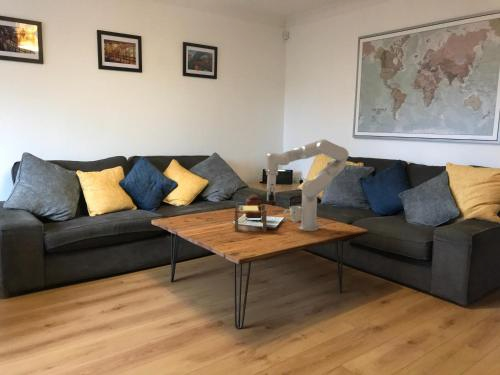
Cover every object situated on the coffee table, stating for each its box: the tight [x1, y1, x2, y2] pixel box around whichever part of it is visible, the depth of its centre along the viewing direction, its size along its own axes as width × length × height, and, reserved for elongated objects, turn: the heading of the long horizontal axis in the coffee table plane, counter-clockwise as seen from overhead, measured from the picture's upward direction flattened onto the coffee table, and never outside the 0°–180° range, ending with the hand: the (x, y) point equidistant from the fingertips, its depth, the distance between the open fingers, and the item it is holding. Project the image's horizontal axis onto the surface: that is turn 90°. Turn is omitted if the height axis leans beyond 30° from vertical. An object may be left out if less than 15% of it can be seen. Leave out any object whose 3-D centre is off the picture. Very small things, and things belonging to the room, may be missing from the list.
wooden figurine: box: [244, 194, 262, 219], centre depth 294 cm, size 12×6×18 cm, turn 81°
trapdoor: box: [239, 204, 259, 211], centre depth 272 cm, size 12×14×2 cm
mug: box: [283, 205, 302, 223], centre depth 292 cm, size 8×13×10 cm, turn 89°
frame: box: [234, 204, 268, 233], centre depth 273 cm, size 20×20×14 cm
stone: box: [266, 191, 276, 202], centre depth 272 cm, size 5×5×5 cm
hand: (271, 199), depth 272 cm, fingers closed on stone, 5 cm apart
